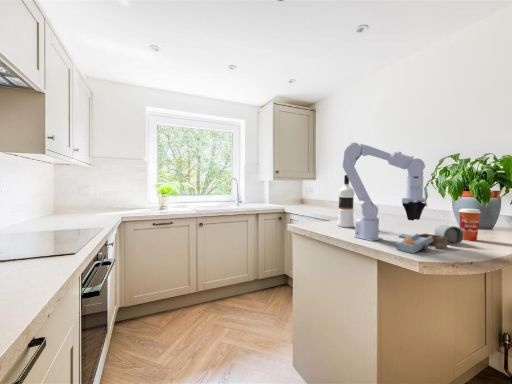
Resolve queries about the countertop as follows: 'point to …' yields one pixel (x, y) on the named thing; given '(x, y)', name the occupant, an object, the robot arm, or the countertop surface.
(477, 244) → the countertop surface
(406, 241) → the ball
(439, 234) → the ceramic mug
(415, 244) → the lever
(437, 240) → the pocket
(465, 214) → the paper cup
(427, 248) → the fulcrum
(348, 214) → the vodka
